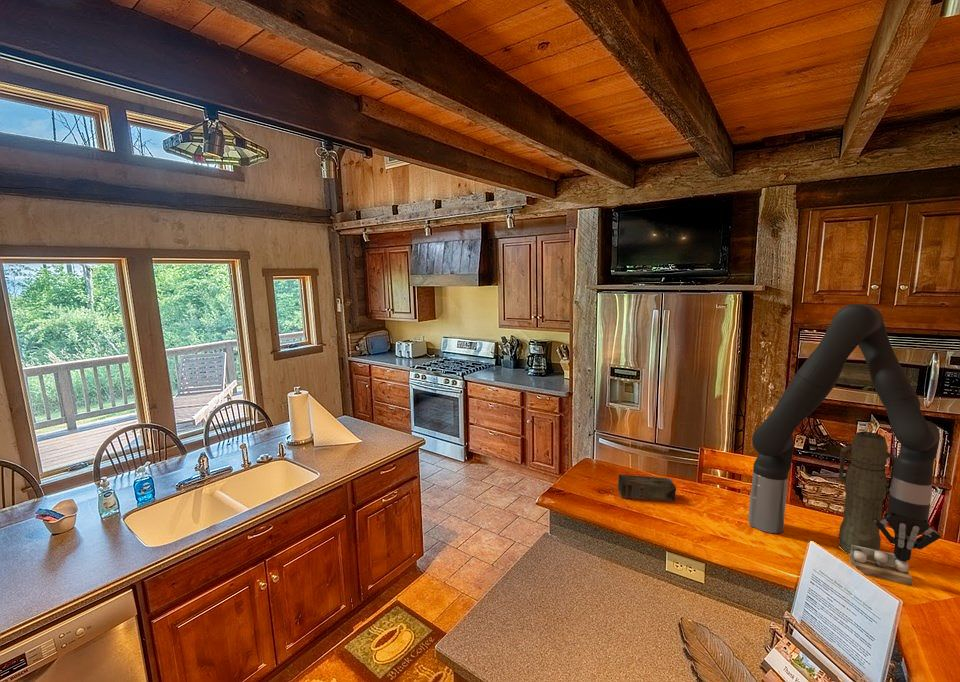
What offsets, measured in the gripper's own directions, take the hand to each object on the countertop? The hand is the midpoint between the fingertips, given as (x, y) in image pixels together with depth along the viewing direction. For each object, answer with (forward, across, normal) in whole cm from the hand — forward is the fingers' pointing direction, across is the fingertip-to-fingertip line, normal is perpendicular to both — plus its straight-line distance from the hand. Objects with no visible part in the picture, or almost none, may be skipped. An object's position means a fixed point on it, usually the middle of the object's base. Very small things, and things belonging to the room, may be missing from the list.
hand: (901, 559), depth 113 cm
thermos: (+5, -6, +10) cm, 13 cm away
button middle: (+3, -4, 0) cm, 5 cm away
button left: (+4, -8, 0) cm, 9 cm away
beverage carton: (+6, -65, +17) cm, 68 cm away
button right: (+5, 0, 0) cm, 5 cm away
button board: (+5, -4, 0) cm, 6 cm away
